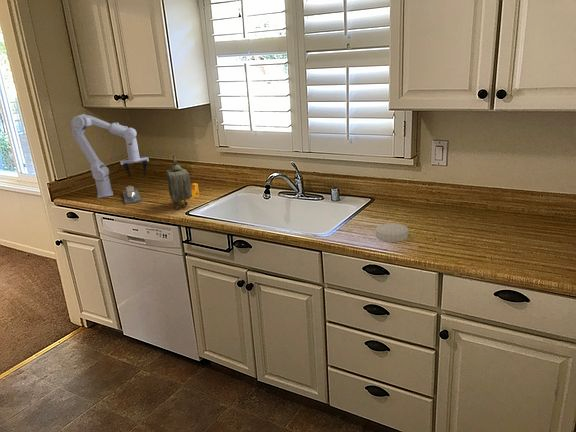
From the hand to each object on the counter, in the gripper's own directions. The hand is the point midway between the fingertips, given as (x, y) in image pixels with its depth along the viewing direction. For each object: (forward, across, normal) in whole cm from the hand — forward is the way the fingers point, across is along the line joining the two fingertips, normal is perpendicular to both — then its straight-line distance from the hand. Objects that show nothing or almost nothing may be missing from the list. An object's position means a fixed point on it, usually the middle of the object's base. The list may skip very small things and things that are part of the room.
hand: (137, 176), depth 255 cm
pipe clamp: (+10, +22, -26) cm, 35 cm away
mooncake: (+10, +82, -121) cm, 147 cm away
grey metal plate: (+9, -5, -7) cm, 13 cm away
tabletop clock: (+10, +17, -37) cm, 42 cm away
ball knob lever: (+8, -5, -7) cm, 12 cm away
